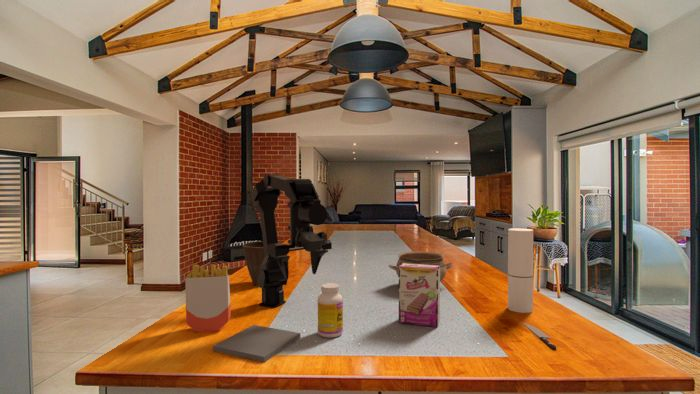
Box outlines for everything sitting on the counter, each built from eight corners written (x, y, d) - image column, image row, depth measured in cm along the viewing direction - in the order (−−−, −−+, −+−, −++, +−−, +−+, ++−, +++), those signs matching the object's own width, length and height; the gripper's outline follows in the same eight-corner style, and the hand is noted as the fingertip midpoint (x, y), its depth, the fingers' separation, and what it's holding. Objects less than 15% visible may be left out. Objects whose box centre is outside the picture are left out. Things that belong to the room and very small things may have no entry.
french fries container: (190, 327, 107) (189, 262, 106) (230, 324, 109) (229, 261, 108) (186, 333, 102) (185, 266, 102) (228, 330, 104) (227, 264, 104)
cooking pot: (443, 279, 158) (443, 250, 157) (461, 292, 139) (461, 259, 139) (383, 282, 155) (383, 252, 155) (394, 295, 136) (394, 261, 136)
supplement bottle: (339, 339, 97) (339, 289, 97) (314, 337, 99) (314, 288, 98) (345, 329, 104) (345, 282, 104) (321, 328, 105) (321, 281, 105)
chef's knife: (531, 323, 109) (520, 322, 109) (531, 319, 109) (520, 318, 109) (565, 352, 90) (552, 351, 90) (565, 347, 90) (552, 346, 90)
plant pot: (277, 288, 147) (276, 246, 146) (238, 288, 147) (237, 247, 147) (284, 278, 162) (283, 241, 161) (249, 278, 162) (248, 241, 162)
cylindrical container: (532, 307, 122) (533, 228, 121) (533, 314, 115) (533, 231, 114) (508, 304, 125) (508, 227, 124) (507, 311, 118) (507, 230, 117)
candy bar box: (398, 323, 108) (397, 266, 108) (401, 317, 113) (401, 262, 112) (438, 328, 104) (438, 268, 104) (440, 322, 109) (440, 264, 109)
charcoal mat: (213, 350, 91) (212, 345, 91) (253, 329, 105) (253, 324, 105) (264, 362, 85) (264, 356, 85) (300, 337, 99) (300, 333, 99)
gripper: (285, 227, 98) (286, 287, 98) (342, 222, 109) (343, 276, 110) (265, 224, 106) (266, 279, 107) (320, 219, 118) (321, 270, 119)
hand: (300, 276), depth 110 cm, fingers open, 9 cm apart
